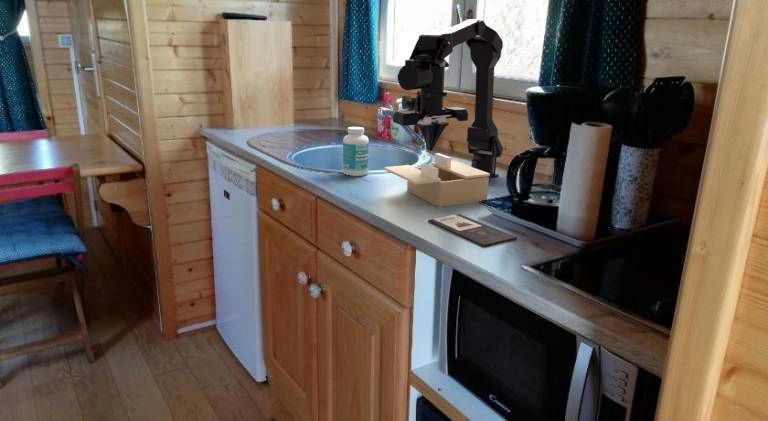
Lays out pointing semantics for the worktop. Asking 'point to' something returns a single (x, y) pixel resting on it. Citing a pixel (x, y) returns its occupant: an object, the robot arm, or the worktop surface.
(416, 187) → the carton
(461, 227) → the chocolate bar
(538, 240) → the worktop surface
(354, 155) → the pill bottle
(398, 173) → the outer lid
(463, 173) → the inner lid
